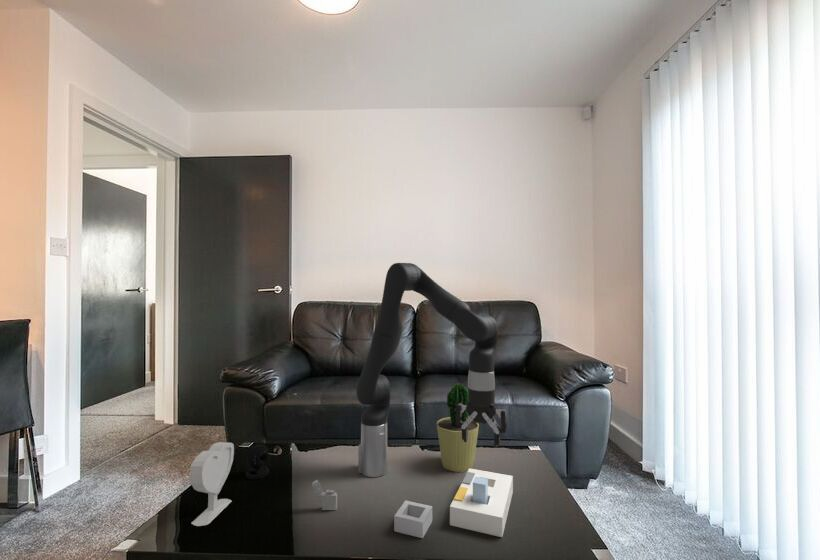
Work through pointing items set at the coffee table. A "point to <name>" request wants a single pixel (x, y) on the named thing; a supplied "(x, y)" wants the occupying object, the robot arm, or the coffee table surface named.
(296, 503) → the coffee table surface
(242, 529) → the coffee table surface
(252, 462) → the webcam
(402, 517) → the holster
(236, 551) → the coffee table surface
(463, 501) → the port panel
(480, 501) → the plug
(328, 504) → the lighter
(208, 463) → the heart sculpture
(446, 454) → the potted cactus
